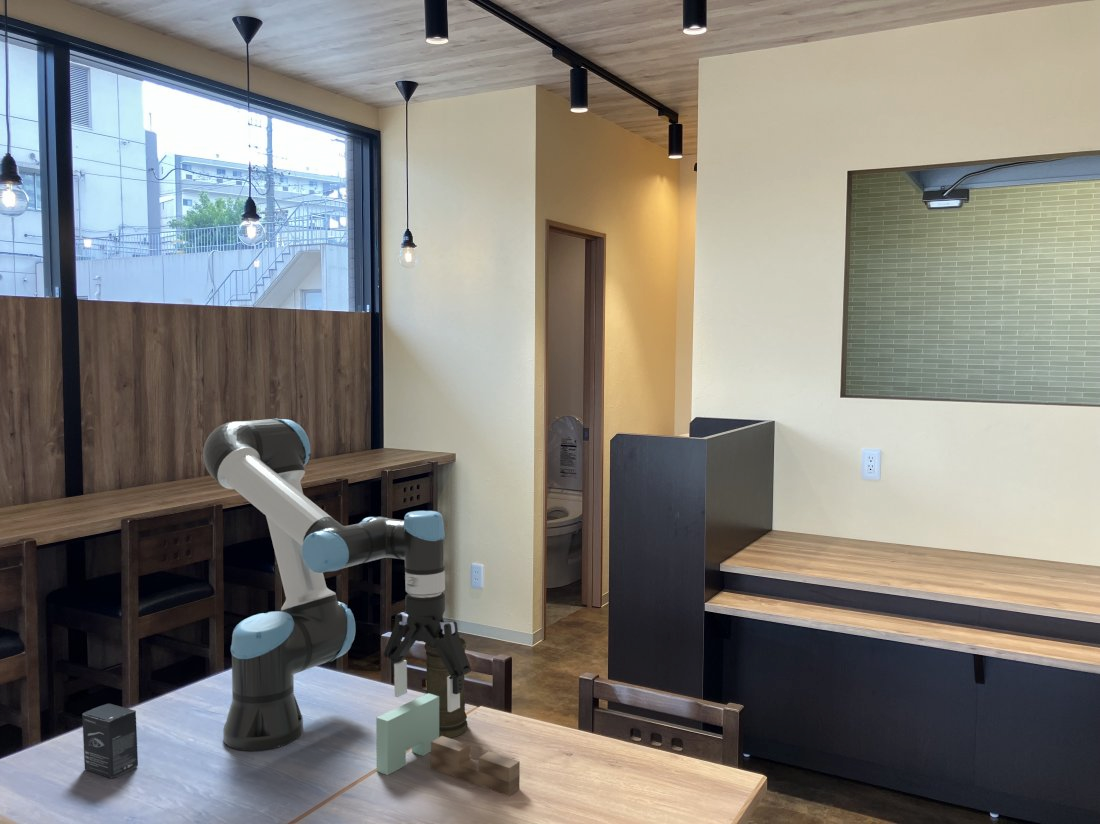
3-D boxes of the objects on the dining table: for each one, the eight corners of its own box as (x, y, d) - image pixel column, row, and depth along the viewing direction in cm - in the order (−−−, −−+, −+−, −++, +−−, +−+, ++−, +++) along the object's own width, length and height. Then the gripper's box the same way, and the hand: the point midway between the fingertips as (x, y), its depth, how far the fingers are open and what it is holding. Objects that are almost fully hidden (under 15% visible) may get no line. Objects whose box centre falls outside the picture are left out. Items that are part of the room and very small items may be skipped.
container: (460, 740, 167) (460, 651, 166) (417, 735, 169) (417, 647, 168) (473, 721, 176) (473, 636, 175) (432, 717, 178) (432, 633, 177)
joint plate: (387, 775, 152) (387, 721, 152) (376, 771, 154) (376, 717, 153) (439, 746, 164) (439, 696, 164) (428, 743, 166) (428, 693, 165)
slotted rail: (430, 768, 155) (430, 741, 155) (441, 761, 158) (441, 735, 157) (509, 796, 145) (509, 768, 145) (519, 789, 148) (519, 761, 147)
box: (138, 767, 155) (137, 709, 154) (110, 780, 150) (109, 720, 149) (111, 757, 159) (110, 701, 158) (82, 769, 154) (81, 712, 153)
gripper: (364, 588, 165) (366, 694, 166) (462, 606, 151) (464, 723, 152) (391, 580, 171) (393, 683, 172) (488, 597, 157) (490, 709, 158)
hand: (426, 702), depth 162 cm, fingers open, 13 cm apart
